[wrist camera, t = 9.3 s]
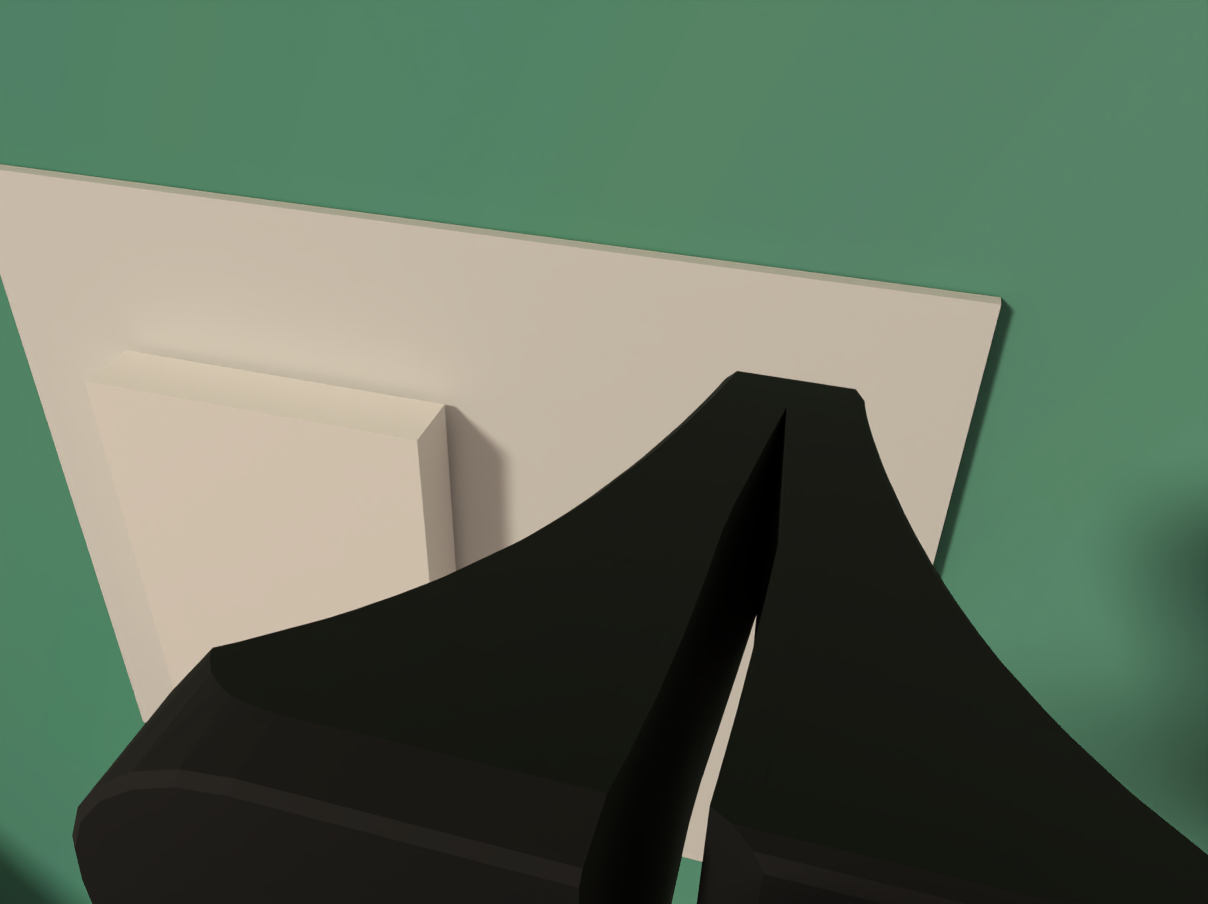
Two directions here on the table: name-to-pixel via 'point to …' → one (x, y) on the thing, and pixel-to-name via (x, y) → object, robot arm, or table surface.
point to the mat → (461, 354)
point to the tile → (268, 497)
